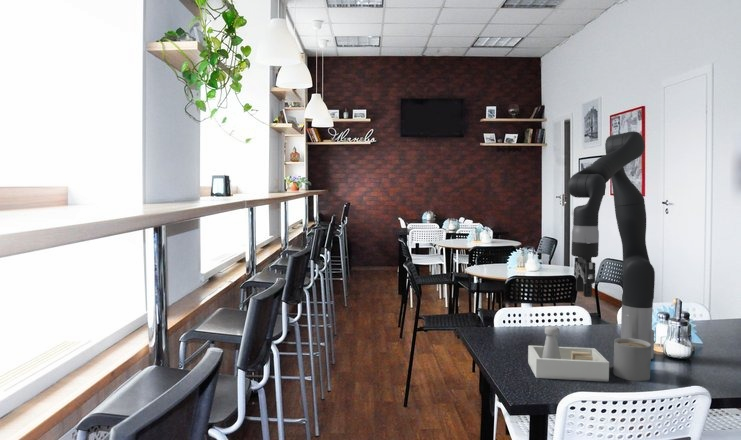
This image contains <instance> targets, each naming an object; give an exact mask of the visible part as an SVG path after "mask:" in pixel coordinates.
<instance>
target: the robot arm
mask: <svg viewBox="0 0 741 440" xmlns="http://www.w3.org/2000/svg"><path fill="white" fill-rule="evenodd" d="M604 144H605V147H604V148H605V149H604V151H605V154H604V155H603V156H601V157H599V158H598V159H596V160H594V162H593V163H592V164H591V165H590V166H588V167H585V168H584V169H582V170H579V171H577V172H575V173H574V174H572V176H571V177H570V178H569V180H568V181H567V192H568V193H569V195H570V196H572V197H573V198H577V199H579V198H581V199H582V198H584V199H588V198H589V199H588V201H587V202H586V203H585V204H583V205H578V206H575V207H574V208H573V214H572V215H573V216H572V217H573V218H572V232H571V252H570V253H571V255H572V256H573V257H574V264H573V265H574V268H573V276H574V278H575V279H576V282H575V290H576V291H577V292H581V293H583V296H584V298H591V297H592V296H593V284H595V283H596V262H593V261H592V258H598V256H599V246H600V245H599V242H600V231H599V213H600V209H601V204H602V202H603V198H604V197H605V196H604V195H605V193H606V189H607V183H608V181H609V182H610V180H611V184H612V185H611V186H612V193H613V202H614V211H615V212H614V213H615V219H616V224H617V230H618V232H619V233H618V234H619V236H620V242H621V246H622V267H621V268H622V276H623V277H622V278H623V279H622V294H621V297H622V298H621V322H620V323H621V324H620V325H621V326H620V338H632V339H639V340H643V341H646V342H649V343H650V344H651V360H654V354H655V353H654V351H655V350H654V348H655V330H654V329H653V310H654V309H653V307H654V305H653V304H654V299H655V285H656V284H655V280H656V275H655V274H656V272H655V268H654V266H653V264H652V263H651V261H650V258H649V253H648V249H647V241H646V240H647V239H646V236H647V211H646V210H647V209H646V202H645V198H644V195H643V194H642V192H641V190H639V189H638V188H637V187H636V185H635V184H634V183H633V182H632V180H630V178H629V176H627V173H626V172H625V171H626V170H625V168H624V167H626V166H627V165H628V164H630V163H632V162H633V161H636V160H637V159H638V158H640V157H642V155H643V154H644V151H645V148H646V147H645V140H644V137H643V135H642V134H641V133H640V132H638V131H628V132H627V131H626V132H622V133H618V134H613V135H610V136H608V137H607V138H606V139H605V143H604Z"/></svg>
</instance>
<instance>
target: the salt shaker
mask: <svg viewBox="0 0 741 440" xmlns="http://www.w3.org/2000/svg"><path fill="white" fill-rule="evenodd" d="M544 334H545V335H546V337H545V341H544V345H543V346H544V350H543V355H542V358H549V359H561V356H560V351H559V347H560V346H559V340H558V336H559V335H560V328H559V327H556V326H553V325H548V326H545V328H544Z"/></svg>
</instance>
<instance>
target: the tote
mask: <svg viewBox="0 0 741 440" xmlns="http://www.w3.org/2000/svg"><path fill="white" fill-rule="evenodd" d="M527 347H528V350H527V351H528V352H527V363H528V365H529V368H530V369H531V371H532V373H533V375H534V376H535V378H537V379H551V380H552V379H553V380H571V381H574V380H575V381H593V382H609V380H610V379H609V378H610V361H608V360H607V359H606V357H604V356H603V355H602V354H601V353H600V352H599V351H598V350H597V349H596V348H593V347H575V346H573V347H572V346H559V351H560V356H561V359H549V358H542V355H543V350H544V345H528V346H527ZM572 351H574V352H589V353H590V355H591V356H592V357H593V361H591V360H571V354H572Z"/></svg>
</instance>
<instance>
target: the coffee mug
mask: <svg viewBox="0 0 741 440" xmlns="http://www.w3.org/2000/svg"><path fill="white" fill-rule="evenodd" d="M613 341H614V342H613V370H612V371H613V375H614V376H616V377H618V378H620V379H623V380H628V381H634V382H644V381H649V380H650V379H651V362H652V361H651V360H652V359H651V344H650V343H649V342H646V341H643V340H639V339H632V338H621V337H620V338H619V337H618V338H615V339H614V340H613Z"/></svg>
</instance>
